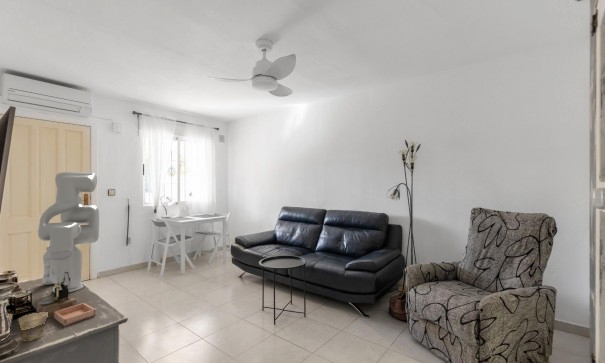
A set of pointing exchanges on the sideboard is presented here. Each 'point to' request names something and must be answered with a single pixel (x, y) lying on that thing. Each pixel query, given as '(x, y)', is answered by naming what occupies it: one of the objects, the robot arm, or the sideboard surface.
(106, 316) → the sideboard surface
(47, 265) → the plastic bottle
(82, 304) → the tray
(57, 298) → the pin
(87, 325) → the sideboard surface
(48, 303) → the block
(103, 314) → the sideboard surface
